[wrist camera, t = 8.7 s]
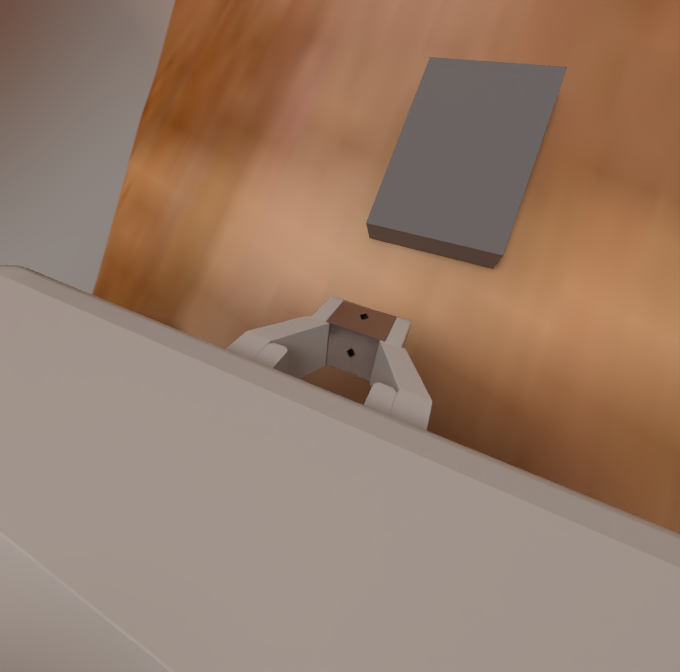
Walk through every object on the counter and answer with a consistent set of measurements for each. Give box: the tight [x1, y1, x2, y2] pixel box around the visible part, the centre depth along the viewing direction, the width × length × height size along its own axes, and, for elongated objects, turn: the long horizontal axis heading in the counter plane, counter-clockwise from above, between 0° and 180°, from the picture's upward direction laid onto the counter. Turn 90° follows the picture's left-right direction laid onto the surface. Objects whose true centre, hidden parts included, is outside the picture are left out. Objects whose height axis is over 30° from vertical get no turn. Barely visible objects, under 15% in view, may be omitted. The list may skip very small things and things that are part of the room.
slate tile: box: [366, 57, 567, 269], centre depth 18 cm, size 2×8×12 cm
